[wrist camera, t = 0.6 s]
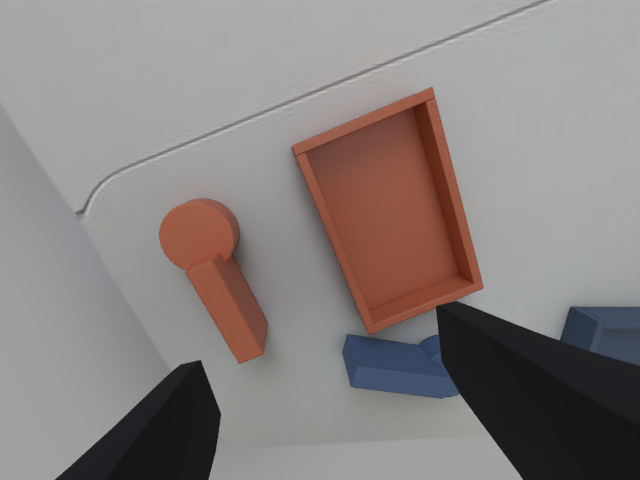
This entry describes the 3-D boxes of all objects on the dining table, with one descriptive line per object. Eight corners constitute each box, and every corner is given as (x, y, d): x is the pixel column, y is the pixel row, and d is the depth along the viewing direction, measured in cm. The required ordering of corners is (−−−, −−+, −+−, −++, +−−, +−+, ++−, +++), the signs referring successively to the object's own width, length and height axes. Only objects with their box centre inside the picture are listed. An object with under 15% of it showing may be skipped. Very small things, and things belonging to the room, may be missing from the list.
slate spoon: (337, 367, 19) (345, 403, 16) (351, 318, 18) (362, 348, 16) (453, 382, 21) (479, 419, 18) (471, 338, 20) (502, 369, 17)
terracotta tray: (465, 275, 18) (484, 288, 17) (361, 317, 19) (368, 335, 17) (415, 94, 15) (432, 86, 13) (291, 147, 15) (291, 145, 14)
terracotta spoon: (284, 316, 18) (283, 346, 15) (230, 338, 18) (219, 372, 15) (220, 188, 16) (204, 195, 13) (158, 214, 16) (128, 226, 13)
